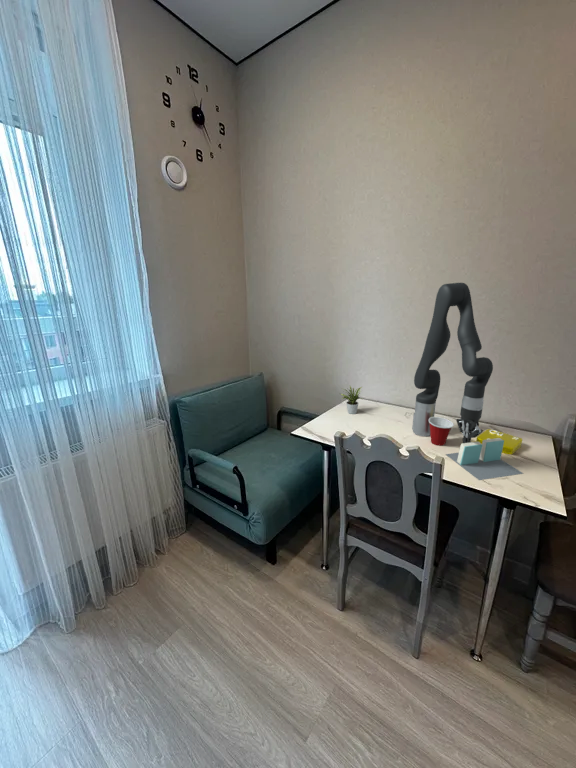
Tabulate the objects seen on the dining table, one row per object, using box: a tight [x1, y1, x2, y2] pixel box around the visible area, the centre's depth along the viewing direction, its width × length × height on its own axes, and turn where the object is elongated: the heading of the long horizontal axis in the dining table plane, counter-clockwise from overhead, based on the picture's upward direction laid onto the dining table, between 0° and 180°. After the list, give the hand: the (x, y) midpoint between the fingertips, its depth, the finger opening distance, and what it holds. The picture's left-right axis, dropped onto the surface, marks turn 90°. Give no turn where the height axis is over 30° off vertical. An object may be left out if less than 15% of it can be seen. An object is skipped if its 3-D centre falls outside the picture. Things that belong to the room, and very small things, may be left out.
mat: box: [445, 452, 524, 481], centre depth 133 cm, size 20×20×1 cm
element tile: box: [475, 428, 523, 456], centre depth 148 cm, size 15×15×5 cm
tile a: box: [457, 441, 482, 466], centre depth 132 cm, size 2×8×9 cm, turn 101°
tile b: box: [480, 438, 504, 462], centre depth 135 cm, size 2×8×9 cm, turn 101°
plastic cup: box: [429, 416, 455, 447], centre depth 149 cm, size 11×11×12 cm
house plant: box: [340, 385, 363, 415], centre depth 190 cm, size 14×14×16 cm
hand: (466, 444), depth 134 cm, fingers closed
